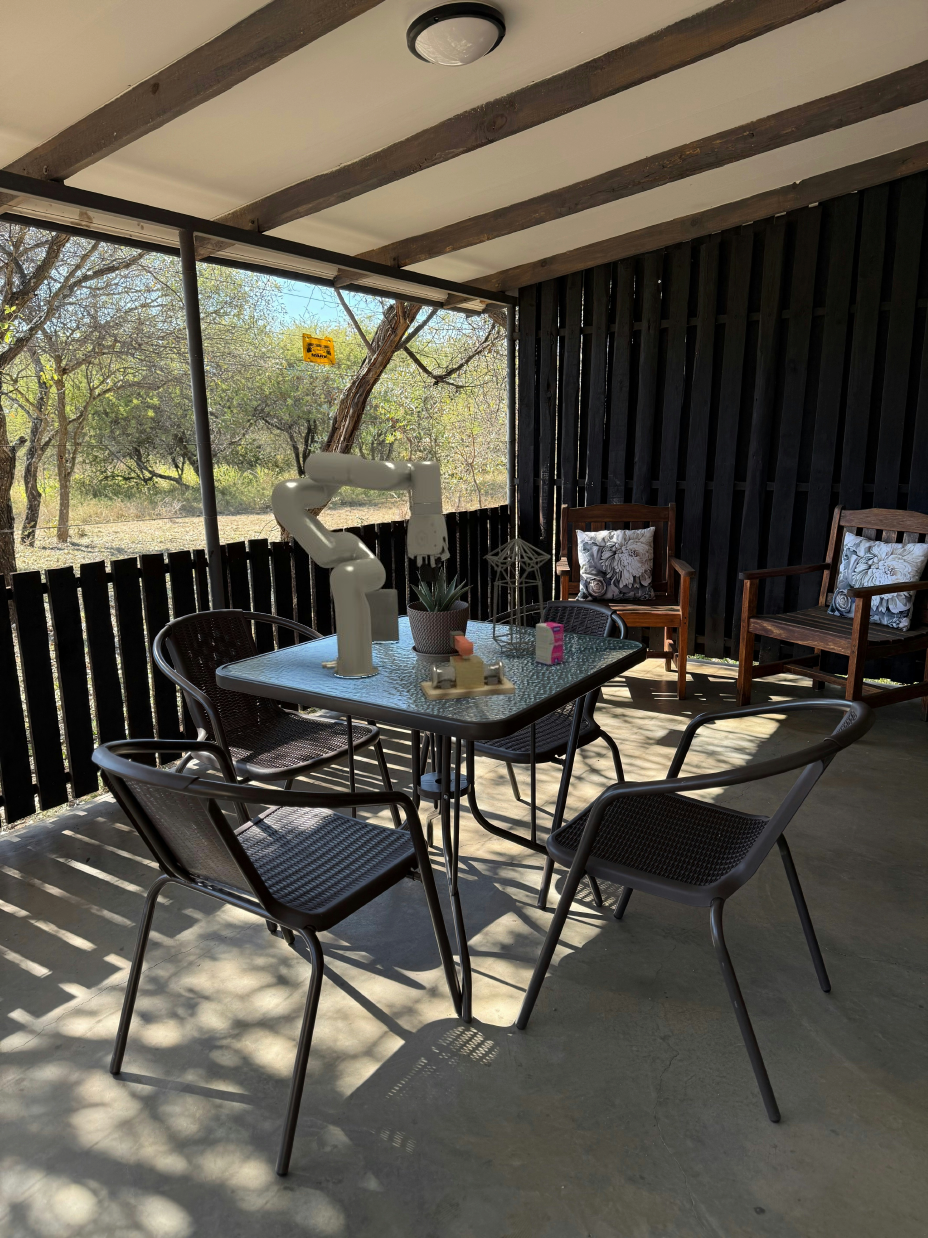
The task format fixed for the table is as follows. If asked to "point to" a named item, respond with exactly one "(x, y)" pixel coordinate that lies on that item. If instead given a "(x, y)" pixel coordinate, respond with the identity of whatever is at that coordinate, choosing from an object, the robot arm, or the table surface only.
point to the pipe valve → (467, 673)
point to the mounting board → (466, 690)
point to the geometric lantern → (491, 558)
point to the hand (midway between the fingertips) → (429, 581)
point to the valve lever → (461, 644)
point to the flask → (383, 614)
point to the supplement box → (549, 643)
